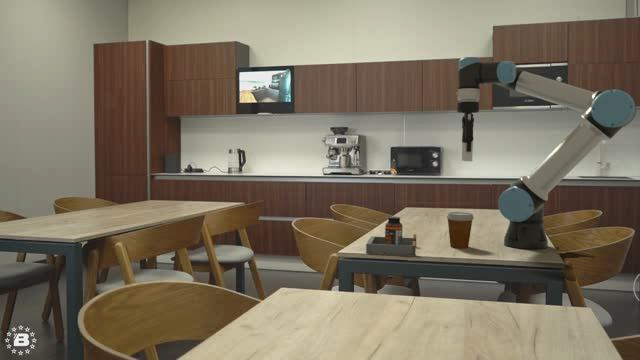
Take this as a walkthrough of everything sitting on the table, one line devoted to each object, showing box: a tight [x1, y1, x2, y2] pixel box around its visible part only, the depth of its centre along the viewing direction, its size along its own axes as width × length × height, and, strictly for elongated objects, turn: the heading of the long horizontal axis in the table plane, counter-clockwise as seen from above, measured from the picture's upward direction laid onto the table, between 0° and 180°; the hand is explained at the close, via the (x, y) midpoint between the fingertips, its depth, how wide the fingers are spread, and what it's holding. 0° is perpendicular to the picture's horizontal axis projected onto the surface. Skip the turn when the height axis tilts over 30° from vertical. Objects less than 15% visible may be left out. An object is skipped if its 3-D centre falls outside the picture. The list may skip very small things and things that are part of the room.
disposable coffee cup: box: [446, 211, 475, 249], centre depth 210 cm, size 10×10×12 cm
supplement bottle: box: [384, 216, 403, 245], centre depth 202 cm, size 6×6×11 cm
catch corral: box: [365, 233, 417, 256], centre depth 202 cm, size 16×18×4 cm
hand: (466, 161), depth 210 cm, fingers open, 13 cm apart
